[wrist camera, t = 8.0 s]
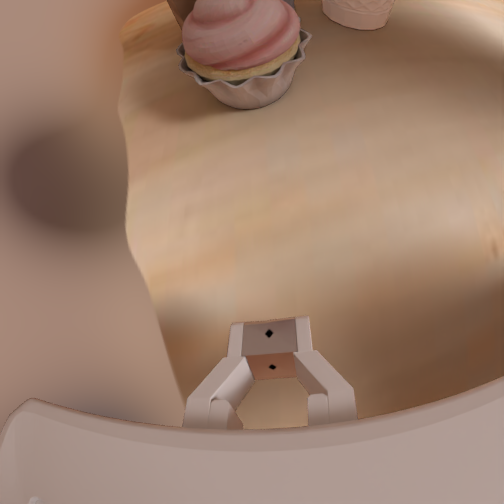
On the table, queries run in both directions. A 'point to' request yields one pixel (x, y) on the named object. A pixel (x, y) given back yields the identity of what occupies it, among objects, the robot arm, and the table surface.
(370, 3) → the white cup
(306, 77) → the table surface
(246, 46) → the cupcake
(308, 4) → the table surface
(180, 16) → the walnut block
